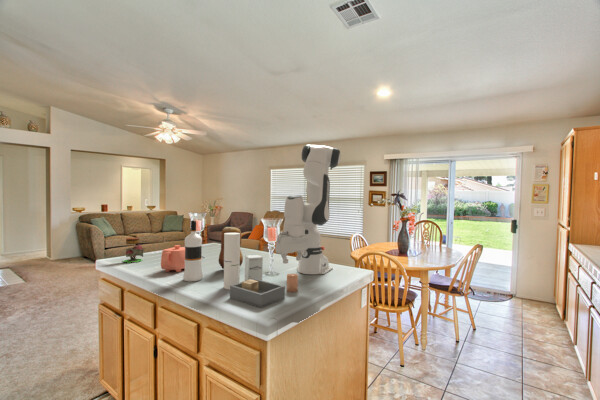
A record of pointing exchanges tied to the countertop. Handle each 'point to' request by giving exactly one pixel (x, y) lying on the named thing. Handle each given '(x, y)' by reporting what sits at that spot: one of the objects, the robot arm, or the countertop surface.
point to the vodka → (193, 256)
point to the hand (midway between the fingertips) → (292, 261)
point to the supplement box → (253, 267)
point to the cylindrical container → (231, 259)
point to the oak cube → (250, 285)
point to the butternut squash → (221, 256)
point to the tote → (265, 294)
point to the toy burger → (133, 250)
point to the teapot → (173, 258)
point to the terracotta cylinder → (292, 282)
